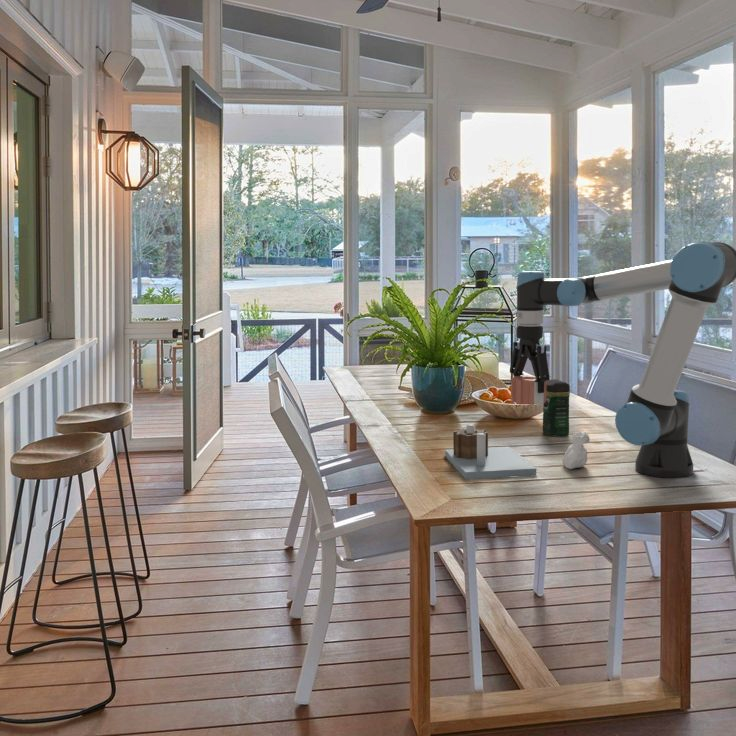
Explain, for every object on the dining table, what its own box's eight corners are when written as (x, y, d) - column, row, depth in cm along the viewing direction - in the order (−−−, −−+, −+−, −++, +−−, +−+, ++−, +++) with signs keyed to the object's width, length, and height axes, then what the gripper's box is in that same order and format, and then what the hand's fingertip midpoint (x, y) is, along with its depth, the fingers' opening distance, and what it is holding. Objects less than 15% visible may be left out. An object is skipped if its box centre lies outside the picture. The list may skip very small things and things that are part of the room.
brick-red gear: (552, 403, 229) (552, 379, 228) (523, 405, 226) (523, 381, 225) (533, 397, 238) (533, 374, 237) (505, 400, 235) (505, 376, 234)
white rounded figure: (577, 479, 221) (603, 449, 219) (555, 463, 222) (581, 432, 219) (574, 468, 233) (599, 439, 230) (553, 452, 233) (578, 423, 231)
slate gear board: (536, 475, 218) (536, 436, 217) (465, 479, 216) (465, 439, 214) (508, 452, 244) (508, 417, 242) (445, 456, 242) (444, 420, 240)
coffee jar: (572, 436, 264) (573, 381, 261) (549, 437, 263) (550, 382, 260) (561, 430, 273) (562, 377, 271) (539, 431, 272) (539, 378, 270)
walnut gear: (491, 458, 230) (491, 434, 229) (458, 460, 229) (458, 436, 228) (482, 450, 239) (482, 427, 238) (450, 451, 238) (450, 429, 237)
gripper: (498, 322, 238) (497, 395, 241) (540, 328, 217) (539, 408, 220) (519, 321, 240) (518, 393, 244) (563, 327, 220) (562, 406, 223)
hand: (528, 400), depth 232 cm, fingers closed on brick-red gear, 10 cm apart
